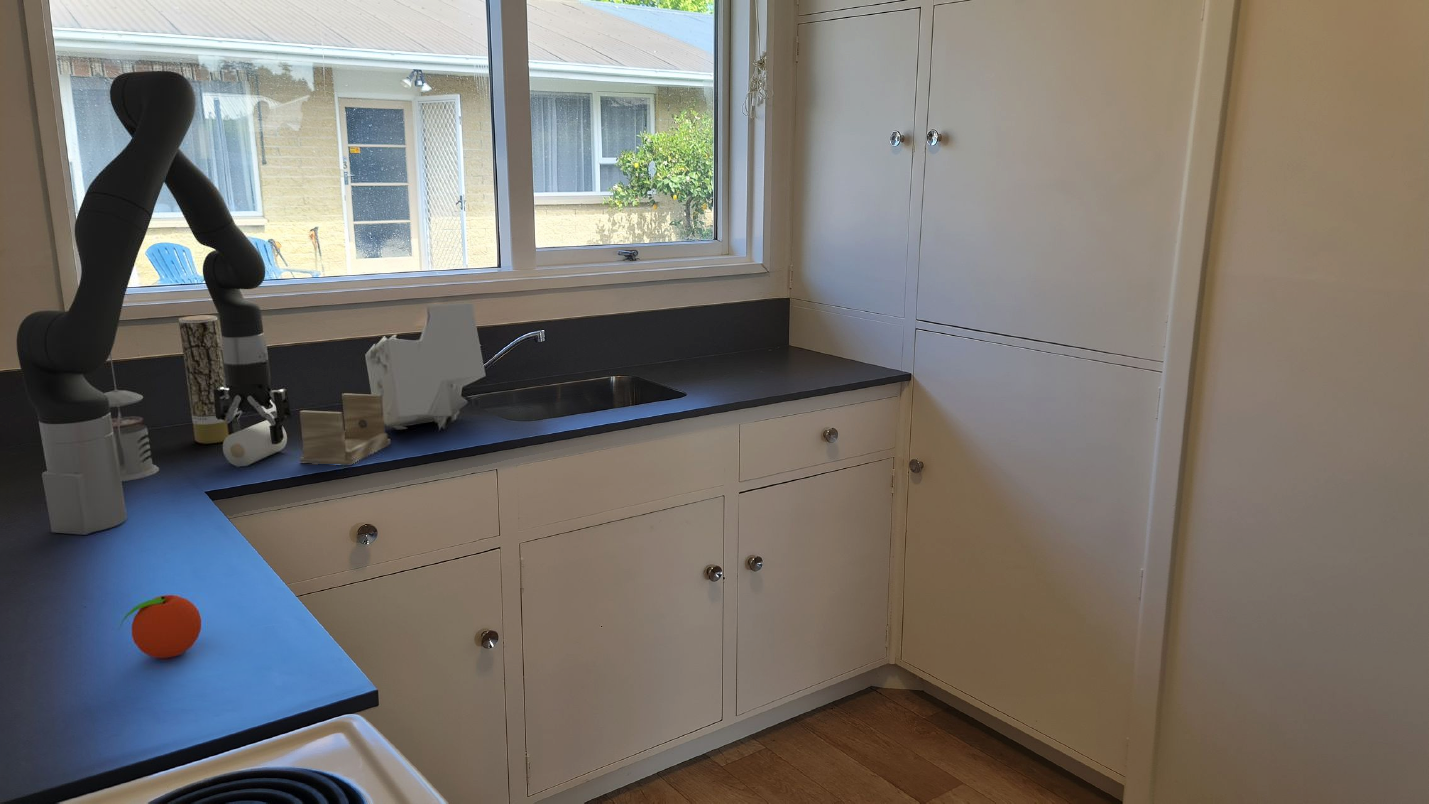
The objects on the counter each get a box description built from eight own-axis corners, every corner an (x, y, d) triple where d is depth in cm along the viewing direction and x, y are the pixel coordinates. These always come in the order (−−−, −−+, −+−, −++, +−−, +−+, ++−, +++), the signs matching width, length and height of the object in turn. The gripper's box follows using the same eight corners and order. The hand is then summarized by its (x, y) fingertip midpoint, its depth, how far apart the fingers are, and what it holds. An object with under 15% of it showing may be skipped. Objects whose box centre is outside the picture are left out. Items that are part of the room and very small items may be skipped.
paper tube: (217, 445, 195) (201, 320, 190) (187, 443, 197) (170, 320, 191) (240, 436, 202) (225, 315, 196) (211, 434, 203) (195, 314, 197)
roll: (254, 468, 181) (250, 434, 179) (223, 466, 182) (219, 433, 181) (290, 451, 191) (286, 419, 190) (260, 450, 192) (256, 418, 191)
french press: (163, 462, 184) (144, 330, 179) (153, 480, 174) (132, 341, 168) (102, 468, 181) (81, 334, 175) (89, 487, 170) (65, 345, 165)
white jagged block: (396, 434, 192) (373, 309, 194) (374, 444, 205) (353, 327, 207) (494, 419, 204) (472, 302, 205) (467, 429, 217) (446, 319, 218)
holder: (349, 466, 181) (344, 413, 179) (300, 463, 183) (294, 411, 181) (390, 443, 196) (386, 395, 193) (344, 441, 198) (340, 393, 195)
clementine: (129, 678, 107) (119, 618, 105) (121, 654, 112) (112, 596, 110) (210, 657, 111) (202, 599, 109) (199, 634, 117) (191, 578, 115)
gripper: (198, 361, 180) (210, 446, 184) (267, 363, 177) (278, 449, 181) (225, 353, 187) (236, 435, 191) (292, 355, 184) (302, 438, 188)
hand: (256, 442), depth 186 cm, fingers open, 8 cm apart
